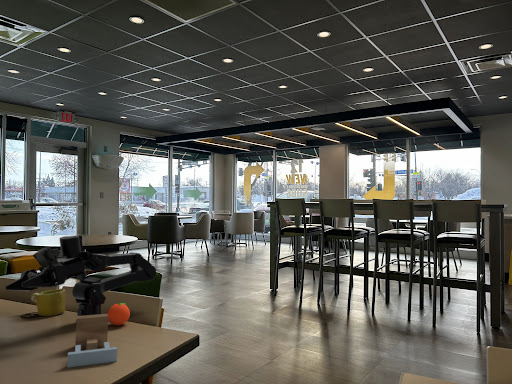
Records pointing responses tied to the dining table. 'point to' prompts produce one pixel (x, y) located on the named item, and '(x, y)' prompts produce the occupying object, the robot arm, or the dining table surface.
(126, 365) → the dining table surface
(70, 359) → the slot bracket
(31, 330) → the dining table surface
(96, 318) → the brown upright blocky piece
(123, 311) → the clementine
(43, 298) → the mug
